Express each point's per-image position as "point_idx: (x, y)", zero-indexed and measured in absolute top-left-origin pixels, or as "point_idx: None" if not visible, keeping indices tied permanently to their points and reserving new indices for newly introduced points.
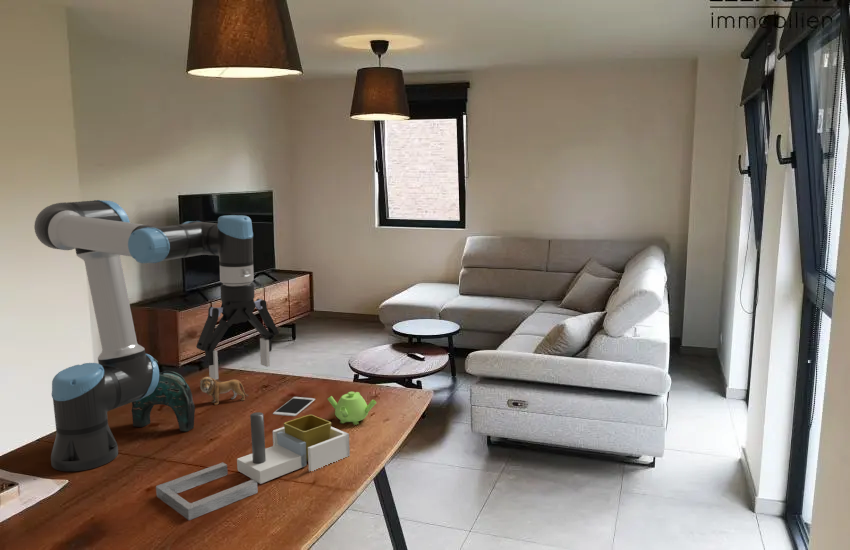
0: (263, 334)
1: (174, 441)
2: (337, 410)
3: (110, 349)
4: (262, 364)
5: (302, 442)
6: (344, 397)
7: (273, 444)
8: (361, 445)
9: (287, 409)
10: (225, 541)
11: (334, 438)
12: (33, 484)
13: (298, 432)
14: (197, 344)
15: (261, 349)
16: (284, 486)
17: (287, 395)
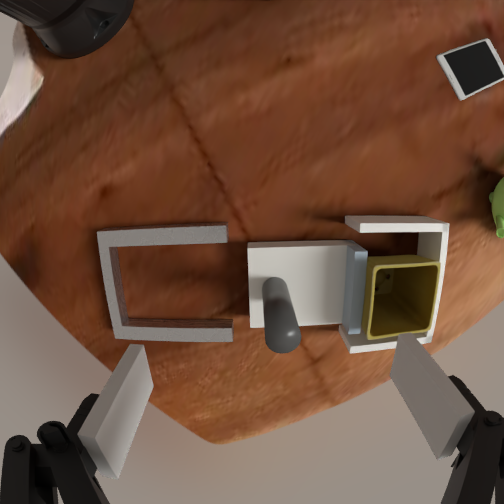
0: (458, 467)
1: (226, 22)
2: (501, 199)
3: None
4: (397, 347)
5: (356, 329)
6: None
7: (350, 220)
8: (449, 301)
9: (462, 67)
10: None
11: None
12: (16, 70)
13: (366, 319)
14: (7, 454)
15: (429, 386)
16: None
17: (482, 22)
